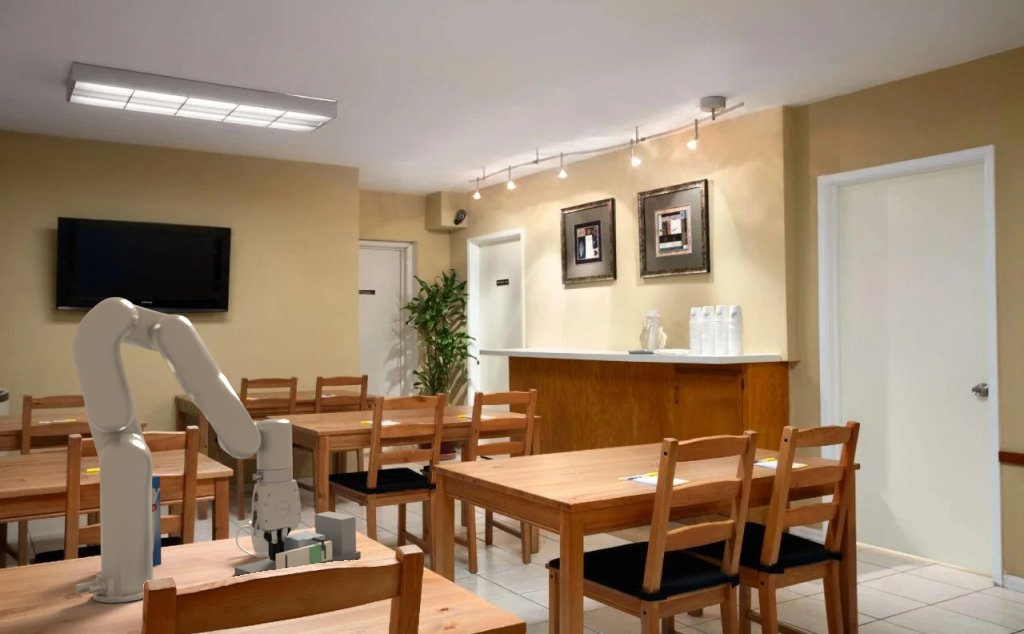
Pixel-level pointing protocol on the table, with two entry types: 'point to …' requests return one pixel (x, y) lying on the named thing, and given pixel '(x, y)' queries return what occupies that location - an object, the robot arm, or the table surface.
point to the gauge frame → (316, 546)
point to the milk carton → (156, 520)
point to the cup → (255, 543)
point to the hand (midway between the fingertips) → (276, 559)
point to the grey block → (303, 540)
